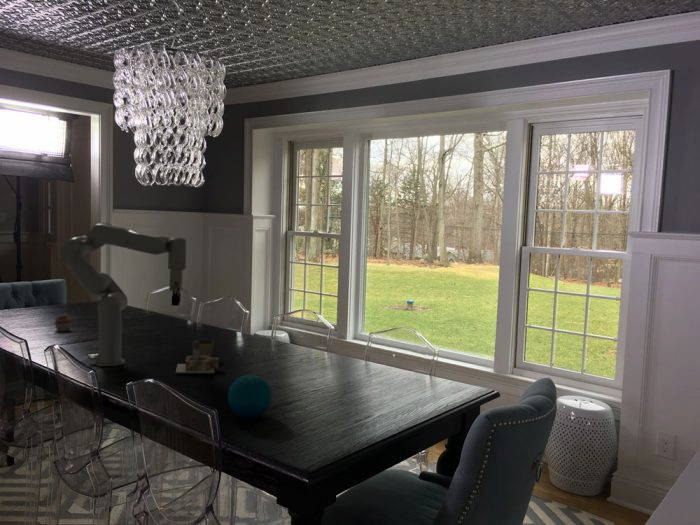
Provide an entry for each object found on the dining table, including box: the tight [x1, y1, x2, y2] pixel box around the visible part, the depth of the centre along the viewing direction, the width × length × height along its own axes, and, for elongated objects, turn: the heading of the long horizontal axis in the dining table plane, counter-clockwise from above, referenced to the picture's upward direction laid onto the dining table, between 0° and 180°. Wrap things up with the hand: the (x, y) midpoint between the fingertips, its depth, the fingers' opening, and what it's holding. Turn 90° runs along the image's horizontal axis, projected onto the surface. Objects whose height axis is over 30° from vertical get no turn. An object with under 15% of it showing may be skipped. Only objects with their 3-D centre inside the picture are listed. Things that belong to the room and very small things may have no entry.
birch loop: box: [185, 355, 220, 371], centre depth 267 cm, size 14×10×4 cm
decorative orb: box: [227, 374, 272, 419], centre depth 210 cm, size 15×15×15 cm
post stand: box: [175, 340, 215, 374], centre depth 266 cm, size 16×13×13 cm
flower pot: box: [197, 339, 216, 358], centre depth 286 cm, size 9×9×9 cm
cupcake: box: [54, 312, 73, 333], centre depth 332 cm, size 9×9×10 cm
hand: (175, 303), depth 271 cm, fingers open, 9 cm apart
